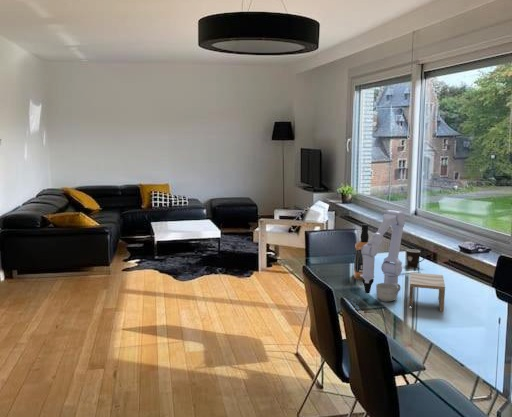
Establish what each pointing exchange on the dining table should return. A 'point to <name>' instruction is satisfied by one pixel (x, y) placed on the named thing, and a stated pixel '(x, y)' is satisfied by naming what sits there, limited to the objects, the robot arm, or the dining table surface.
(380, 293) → the teacup
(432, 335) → the dining table surface
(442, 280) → the wooden step stool
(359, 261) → the whiskey bottle
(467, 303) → the dining table surface
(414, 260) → the coffee mug
